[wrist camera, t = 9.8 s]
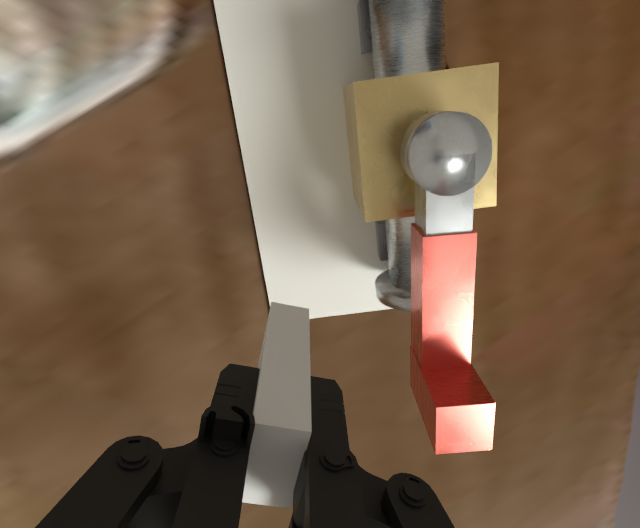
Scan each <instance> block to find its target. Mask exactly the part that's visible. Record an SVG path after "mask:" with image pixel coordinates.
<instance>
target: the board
mask: <svg viewBox="0 0 640 528" xmlns="http://www.w3.org/2000/svg"><path fill="white" fill-rule="evenodd" d="M358 2H359V0H214V6H215V11H216V17H217V22H218V28H219V33H220V38H221V44H222V49H223V55H224V60H225V65H226V71H227V76H228V82H229V87H230V93H231V98H232V103H233V109H234V114H235V120H236V125H237V131H238V136H239V141H240V147H241V152H242V158H243V163H244V168H245V174H246V179H247V185H248V190H249V196H250V201H251V206H252V212H253V217H254V223H255V228H256V234H257V239H258V244H259V250H260V255H261V261H262V266H263V272H264V277H265V282H266V288H267V293H268V299H269V304H270V306H271V302H276V303H281V304H286V305H292V306H297V307H302V308H308V309H309V319H311V318H319V317H328V316H336V315H344V314H352V313H360V312H368V311H376V310H384V309H393V308H390V307H388V306H386V305H384V304H382V303H381V302H380V301H379V300H378V299H377V297H376V288H375V280H376V278H377V277H378V275H380V274H381V273H382V272H384V271H386V270H388V269H389V266H388V260H385V261H380V259H379V257H378V250H377V238H376V226H375V221H373V222H365V220H364V218H363V216H362V214H361V212H360V210H359V207H358V205H357V203H356V201H355V199H354V195H353V185H352V175H351V165H350V155H349V145H348V135H347V125H346V114H345V104H344V94H343V87H345V86H346V85H348V84H350V83H352V82H357V81H364V80H372V79H374V65H373V52H371V53H364V54H361V46H360V34H359V22H358V10H357V4H358Z"/></svg>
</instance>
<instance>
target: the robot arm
mask: <svg viewBox="0 0 640 528" xmlns="http://www.w3.org/2000/svg"><path fill="white" fill-rule="evenodd" d="M344 413H345V410H344V405H343V395H342V390H341V389H340V387H339V386H338V384H337V383H336V381H335V380H331V379H325V378H319V377H313V376H310V331H309V309H308V308H302V307H297V306H292V305H286V304H281V303H276V302H271V306H270V311H269V315H268V320H267V325H266V330H265V335H264V340H263V344H262V349H261V354H260V359H259V364H258V368H253V367H247V366H241V365H235V364H229V365H228V366H227V367H226V368H225V369H223V370H222V371H221V373H220V376H219V379H218V383H217V386H216V389H215V393H214V396H213V399H212V403H211V406H210V407H208V408H207V409H206V410H205V411H204V413H203V415H202V417H201V423H200V430H199V436H198V438H197V439H195V440H194V441H192V442H191V443H189V444H186V445H184V446H180V447H175V448H167V449H162V447H161V446H160V445H159V443H158V442H157V441H155V440H153V439H151V438H149V437H144V436H132V437H126V438H124V439H121V440H119V441H116V442H115V443H114V444H112V445H111V446H110V447H109V448H108V449H107V450H106V451H105V452H104V453H103V454H102V455H101V456H100V457H99V458H98V459H97V461H96V462H95V463H94V464H93V465H92V466H91V467H90V468H89V469H88V470H87V471H86V473H85V474H84V475H83V476H82V477H81V478H80V479H79V480H78V481H77V482H76V484H75V485H74V486H73V487H72V488H71V489H70V490H69V491H68V492H67V493H66V494H65V496H64V497H63V498H62V499H61V500H60V501H59V502H58V503H57V504H56V505H55V506H54V508H53V509H52V510H51V511H50V512H49V513H48V514H47V515H46V516H45V517H44V519H43V520H42V521H41V522H40V523H39V524H38V525H37V526H36V527H35V528H238V526H239V519H240V512H241V506H242V502H245V503H252V504H260V505H268V506H275V507H283V508H290V507H291V504H292V500H293V514H292V518H291V521H290V525H289V528H454V526H453V524H452V522H451V521H450V519H449V517H448V515H447V513H446V512H445V510H444V508H443V506H442V505H441V503H440V501H439V499H438V498H437V496H436V494H435V492H434V491H433V490H432V489H431V487H430V486H429V485H428V484H427V483H426V482H424V481H423V480H422V479H421V478H419V477H416V476H414V475H412V474H407V473H399V474H395V475H393V476H392V477H391V478H390V479H389V480H388V481H386V480H384V479H381V478H379V477H377V476H374V475H372V474H370V473H368V472H367V471H365V470H364V469H362V468H361V467H360V466H359V465H358V463H357V460H356V457H355V456H354V455H353V454H352V452H351V451H350V449H349V442H348V434H347V426H346V418H345V414H344Z"/></svg>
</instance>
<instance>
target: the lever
mask: <svg viewBox="0 0 640 528" xmlns="http://www.w3.org/2000/svg"><path fill="white" fill-rule="evenodd" d="M491 158H492V140H491V137H490V134H489V132H488V130H487V128H486V127H485V125H484V124H483V123H482V122H481V121H480V120H479V119H478V118H476V117H474V116H473V115H470V114H468V113H464V112H457V111H434V112H430V113H427V114H425V115H423V116H421V117H419V118H418V119H417V120H415V121H414V122H413V123H412V124H411V125H410V126H409V128H408V129H407V131H406V132H405V134H404V136H403V139H402V142H401V147H400V159H401V163H402V166H403V169H404V170H405V172H406V174H407V175H408V176H409V177H410V178H411V179H412V180H413V181H414V182H415V223H411V346H410V377H411V388H412V390H413V393H414V396H415V399H416V402H417V404H418V407H419V410H420V413H421V415H422V418H423V421H424V424H425V426H426V429H427V432H428V435H429V438H430V440H431V443H432V446H433V449H434V451H435V454H444V453H456V452H469V451H482V450H492V444H493V431H494V418H495V405H496V403H495V401H494V400H493V398H492V396H491V395H490V393H489V392H488V390H487V388H486V387H485V385H484V384H483V382H482V380H481V379H480V377H479V376H478V374H477V372H476V371H475V369H474V368H473V366H472V364H471V344H472V325H473V305H474V285H475V266H476V246H477V232H475V231H474V230H473V229H472V227H473V206H474V186H475V185H476V184H477V183H478V182H479V181H480V180H481V179H482V178H483V176H484V175H485V173H486V172H487V170H488V168H489V165H490V162H491Z"/></svg>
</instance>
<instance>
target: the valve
mask: <svg viewBox="0 0 640 528" xmlns="http://www.w3.org/2000/svg"><path fill="white" fill-rule="evenodd" d="M357 10H358V22H359V34H360V46H361V54H364V53H371V52H373V65H374V79H372V80H364V81H357V82H352V83H350V84H348V85H346V86H345V87H343V94H344V104H345V114H346V125H347V135H348V145H349V155H350V165H351V175H352V185H353V195H354V199H355V201H356V203H357V205H358V207H359V210H360V212H361V214H362V216H363V218H364V220H365V222H373V221H375V226H376V238H377V250H378V257H379V259H380V261H385V260H388V266H389V269H388V270H386V271H384V272H382V273H381V274H380V275H378V277H377V278H376V280H375V288H376V297H377V299H378V300H379V301H380V302H381V303H382V304H384V305H386V306H388V307H390V308H393V309H397V310H402V311H410V312H411V223H415V182H414V181H413V180H412V179H411V178H410V177H409V176H408V175H407V174H406V172H405V170H404V169H403V166H402V163H401V159H400V147H401V142H402V139H403V136H404V134H405V132H406V131H407V129H408V128H409V126H410V125H411V124H412V123H413V122H414V121H415V120H417V119H418V118H419V117H421V116H423V115H425V114H427V113H430V112H434V111H457V112H464V113H468V114H470V115H473V116H474V117H476V118H478V119H479V120H480V121H481V122H482V123H483V124H484V125H485V127H486V128H487V130H488V132H489V134H490V137H491V140H492V158H491V162H490V165H489V168H488V170H487V172H486V173H485V175H484V176H483V178H482V179H481V180H480V181H479V182H478V183H477V184H476V185H475V186H474V206H473V209H475V208H483V207H491V206H496V192H497V136H498V80H499V62H498V63H490V64H483V65H475V66H468V67H461V68H453V69H446V61H445V15H444V0H359V2H358V4H357Z"/></svg>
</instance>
